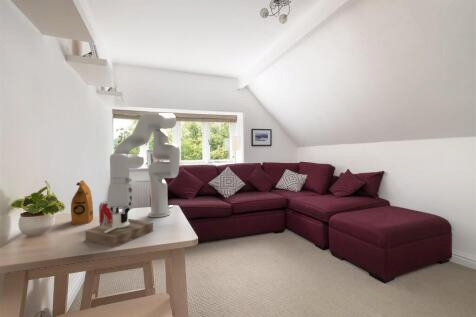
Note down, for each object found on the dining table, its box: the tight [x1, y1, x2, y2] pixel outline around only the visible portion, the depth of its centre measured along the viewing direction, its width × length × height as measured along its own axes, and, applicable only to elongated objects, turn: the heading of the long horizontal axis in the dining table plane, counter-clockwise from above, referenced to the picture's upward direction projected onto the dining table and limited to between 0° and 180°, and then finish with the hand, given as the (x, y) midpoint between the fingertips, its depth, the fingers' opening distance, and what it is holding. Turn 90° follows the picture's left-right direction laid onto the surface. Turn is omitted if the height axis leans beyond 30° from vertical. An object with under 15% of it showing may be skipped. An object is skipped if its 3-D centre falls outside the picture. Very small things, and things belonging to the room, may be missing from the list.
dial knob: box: [104, 210, 130, 233], centre depth 99 cm, size 13×7×6 cm, turn 170°
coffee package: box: [70, 179, 94, 226], centre depth 124 cm, size 10×12×22 cm
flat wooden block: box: [85, 218, 154, 248], centre depth 103 cm, size 20×18×4 cm
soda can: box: [98, 200, 113, 227], centre depth 117 cm, size 7×7×12 cm
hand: (120, 221), depth 102 cm, fingers closed on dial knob, 2 cm apart
